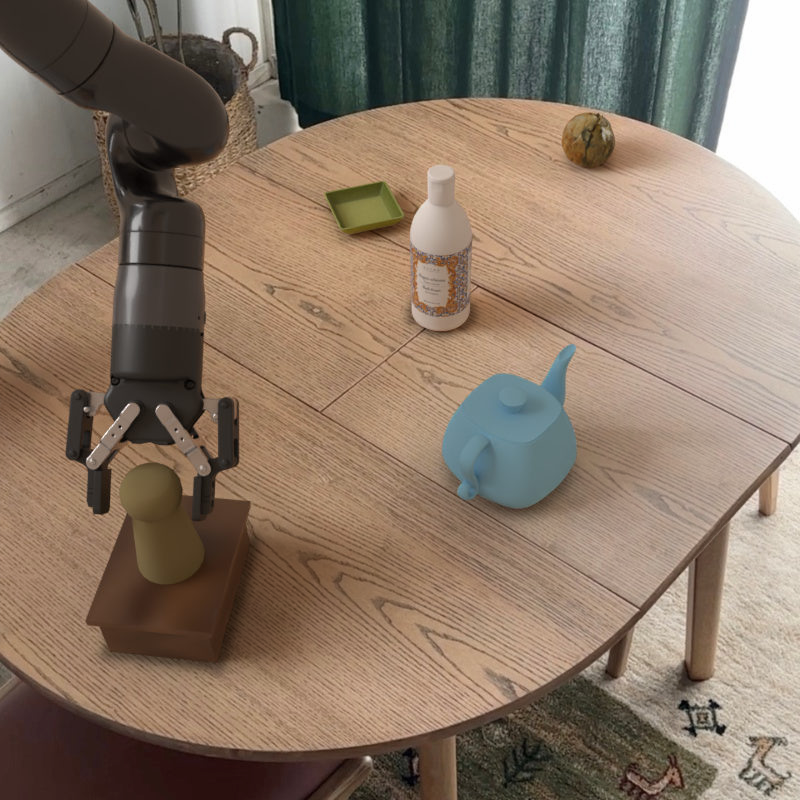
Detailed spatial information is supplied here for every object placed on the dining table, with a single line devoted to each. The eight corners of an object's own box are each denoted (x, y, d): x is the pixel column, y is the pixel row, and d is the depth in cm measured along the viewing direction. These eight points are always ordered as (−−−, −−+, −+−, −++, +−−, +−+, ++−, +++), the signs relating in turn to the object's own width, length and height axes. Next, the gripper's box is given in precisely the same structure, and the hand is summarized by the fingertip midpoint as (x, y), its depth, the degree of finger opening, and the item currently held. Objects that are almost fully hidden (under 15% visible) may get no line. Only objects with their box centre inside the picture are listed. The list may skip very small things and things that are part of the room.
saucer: (386, 192, 144) (385, 179, 142) (406, 229, 138) (405, 216, 136) (324, 205, 142) (322, 192, 140) (341, 243, 136) (340, 230, 135)
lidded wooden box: (100, 656, 96) (85, 620, 91) (147, 528, 105) (135, 490, 101) (221, 669, 94) (211, 633, 90) (257, 538, 104) (249, 500, 100)
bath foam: (403, 325, 125) (398, 183, 111) (423, 289, 129) (421, 148, 115) (458, 339, 123) (461, 196, 109) (477, 301, 128) (482, 160, 113)
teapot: (626, 367, 104) (516, 475, 95) (613, 439, 112) (510, 546, 103) (523, 313, 110) (410, 410, 101) (517, 385, 118) (412, 481, 109)
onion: (622, 150, 149) (629, 99, 143) (605, 181, 144) (612, 130, 138) (570, 139, 151) (575, 89, 146) (552, 169, 146) (557, 118, 141)
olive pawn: (203, 524, 98) (182, 446, 90) (206, 578, 94) (184, 501, 86) (137, 534, 97) (110, 456, 89) (137, 589, 93) (109, 512, 85)
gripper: (58, 317, 85) (49, 517, 86) (231, 325, 84) (222, 528, 85) (92, 321, 93) (85, 506, 93) (252, 329, 92) (244, 516, 92)
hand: (150, 516), depth 89 cm, fingers open, 8 cm apart
